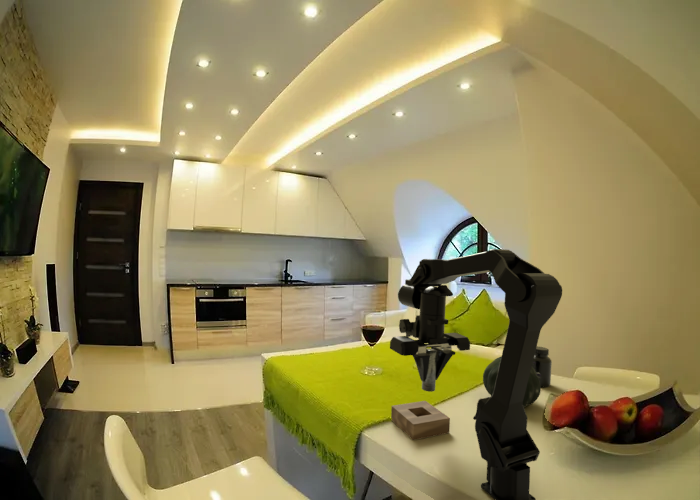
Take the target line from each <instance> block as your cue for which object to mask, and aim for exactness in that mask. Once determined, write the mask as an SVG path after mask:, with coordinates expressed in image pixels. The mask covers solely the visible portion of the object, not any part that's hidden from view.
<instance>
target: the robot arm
mask: <svg viewBox="0 0 700 500" xmlns="http://www.w3.org/2000/svg"><path fill="white" fill-rule="evenodd" d="M485 273H491V274H492V278H493V280H494V282H495V285H497V286H498V288H499V289H500V290H501V291H503V292H504V308H505V310H506V314H507V317H508V320H509V321H508V327H507V331H506V336H505V339H504V343H503V344H504V345H503V349H502V353H501V356H502V357H501V356H500V357H501V361H500V365H499V370H498V374H497V378H496V383H495V387H494V391H493V394H492V396H491V395H490V396H488V397H485V398H479V399H478V400H477V403H476V412H475V414H474V416H473V417H472V418H473V421H474V420H475V423H474V429H475V433H476V437H477V443H478V448H479V451H480V452H479V453H480V457H481V458H482V459H483V460H484V461H485V462H486V466H487V467H486V481H485V482H482V483H480V488H481V489H483V491H485V492H486V493H487V494H488V495H489V496H490V497H491V498H493V499H494V500H536V497H535V496H533V495H532V494H531V493H530V480H531V467H530V466H529V465H528V464H527V463H531V462H536V461H537V460H538V457H539V455H540V453H541V451H540V449H539V448H538V446H537V444H536V443H535V441H534V439H533V438H532V436H531V435H530V432H529V431H528V428H527V427H528V416H527V413H526V409H525V407H523V399H524V395H525V391H526V387H527V383H528V379H529V375H530V371H531V367H532V363H533V359H534V355H535V351H536V347H537V346H538V343H539V339H540V335H541V330H542V328H543V327H544V326H545V325H546V324H547V322H548V321H549V320H550V319H551V317H552V316H553V315H554V314H555V312H556V310H557V308H558V305H559V304H560V302H561V299H562V296H563V288H562V287H563V286H562V285H561V284H560V282H559V281H558V279H557V278H556V277H555V276H553V275H552V274H550V273H545V272H543V270H541V269H540V268H539V267H537V266H535V265H534V264H532V263H529V262H528V261H526V260H524V259H523V258H522V257H520V256H519V255H517V254H516V253H515V252H513V251H512V250H510V249H500V248H492V249H491V248H490V249H489V250H487V251H483V252H478V253H473V254H469V255H464V256H460V257H454V258H450V259H435V258H424V259H421V260H420V261H419V264H418V266H417V267H416V269H415V271H414V272H413V274H412V276H411V278H409V279H404V280H405V283H404V284H403V285H402V286H401V287H400V288H399V290H398V292H397V298H398V301H399V303H400V304H401V305H403V306H405V307H410V308H412V309H417V310H419V315H418V314H417V315H416V317H415V321H410V319H409V318H402V319H400V320H399V325H398V327H399V328H398V329H399V333H401V334H405V335H401V336H399V335H398V336H392V338H391V340H390V341H389V349H390V350H392V351H394V352H395V353H397V354H399V355H400V356H405V357H407V356H408V357H409V356H412V357H413V360H414V362H415V364H416V365H415V366H416V368H417V372H418V375H419V379H420V380H421V382H422V381H423V382H425V379H426V376H427V370H428V364H429V359H430V355H429V354H427V353H426V348H430V349H435V350H437V363H436V381H438V379H439V377H440V375H441V374H442V371H443V370H444V368H445V367H446V365H447V363H448V362H449V361H450V360H451V359H452V357H453V356H454V355H456V352H455V351H454V350H453V348H452V346H454V347H455V346H456V348H457V349H458V351H461V352H463V351H464V352H465V351H470V349H471V341H470V339H469V337H467V336H465V335H462V334H460V333H458V332H447V333H445V325H449V319H447V318H446V303H447V297H454V293H453V292H452V290H451V289H450V288H449V287H448V285H447V284H449V283H452V282H454V281H456V280H457V279H458V278H460V277H466V276H471V275H472V276H474V275H478V274H479V275H480V274H485ZM411 337H413V338H411ZM414 338H415V339H414Z"/></svg>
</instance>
